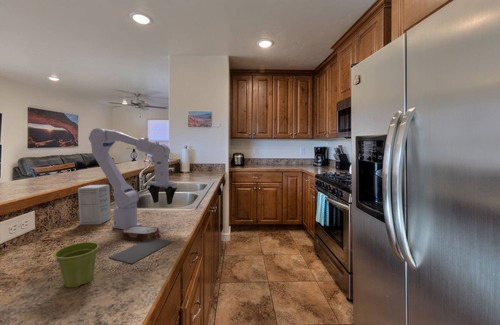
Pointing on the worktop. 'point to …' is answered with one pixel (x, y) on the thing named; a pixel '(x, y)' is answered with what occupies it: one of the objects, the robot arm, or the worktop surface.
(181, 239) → the worktop surface
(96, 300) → the worktop surface
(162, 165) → the robot arm
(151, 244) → the mat
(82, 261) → the plant pot
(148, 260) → the worktop surface
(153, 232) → the tin
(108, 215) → the supplement box
